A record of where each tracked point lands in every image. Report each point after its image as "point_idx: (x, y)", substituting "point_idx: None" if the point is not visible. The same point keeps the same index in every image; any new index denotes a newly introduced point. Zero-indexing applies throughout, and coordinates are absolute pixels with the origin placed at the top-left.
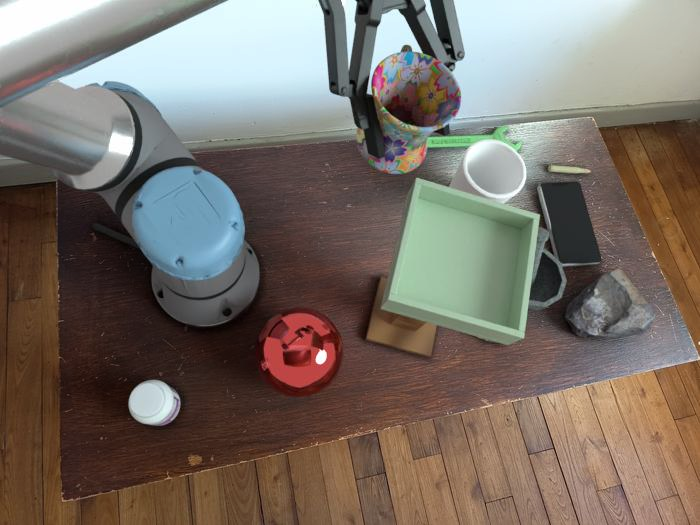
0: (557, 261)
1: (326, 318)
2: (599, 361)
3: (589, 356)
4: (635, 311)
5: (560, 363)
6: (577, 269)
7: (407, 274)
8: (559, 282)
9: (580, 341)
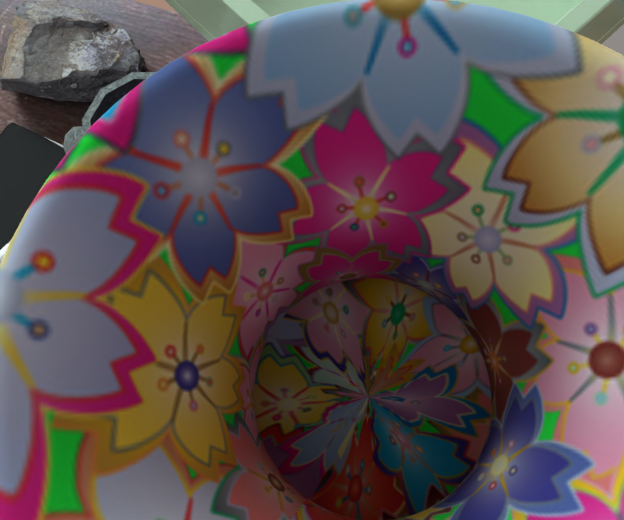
0: (85, 122)
1: None
2: (143, 22)
3: (150, 33)
4: (42, 15)
5: (195, 45)
6: (54, 138)
7: (556, 12)
8: (111, 98)
9: (144, 54)
